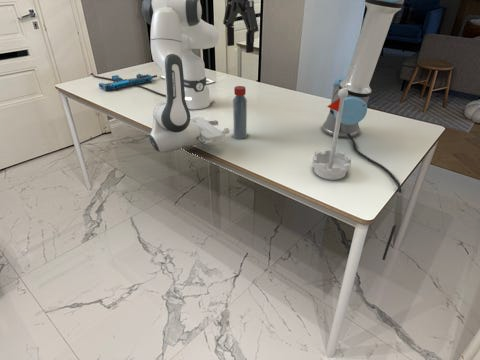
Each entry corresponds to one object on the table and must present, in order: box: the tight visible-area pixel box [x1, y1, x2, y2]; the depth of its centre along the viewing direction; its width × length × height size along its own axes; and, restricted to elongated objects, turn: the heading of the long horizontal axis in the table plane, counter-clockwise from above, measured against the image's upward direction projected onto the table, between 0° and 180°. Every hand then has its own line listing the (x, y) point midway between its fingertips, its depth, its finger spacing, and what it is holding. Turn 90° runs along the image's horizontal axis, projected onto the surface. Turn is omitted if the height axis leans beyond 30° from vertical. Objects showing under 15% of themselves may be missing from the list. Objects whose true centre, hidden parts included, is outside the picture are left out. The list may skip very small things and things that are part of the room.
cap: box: [233, 85, 247, 96], centre depth 135 cm, size 4×4×3 cm
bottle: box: [232, 95, 248, 140], centre depth 140 cm, size 6×6×21 cm
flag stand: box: [312, 88, 352, 181], centre depth 113 cm, size 13×13×30 cm
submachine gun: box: [98, 73, 158, 91], centre depth 208 cm, size 34×4×25 cm
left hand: (223, 126), depth 139 cm, fingers open, 8 cm apart
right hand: (239, 48), depth 126 cm, fingers open, 13 cm apart
